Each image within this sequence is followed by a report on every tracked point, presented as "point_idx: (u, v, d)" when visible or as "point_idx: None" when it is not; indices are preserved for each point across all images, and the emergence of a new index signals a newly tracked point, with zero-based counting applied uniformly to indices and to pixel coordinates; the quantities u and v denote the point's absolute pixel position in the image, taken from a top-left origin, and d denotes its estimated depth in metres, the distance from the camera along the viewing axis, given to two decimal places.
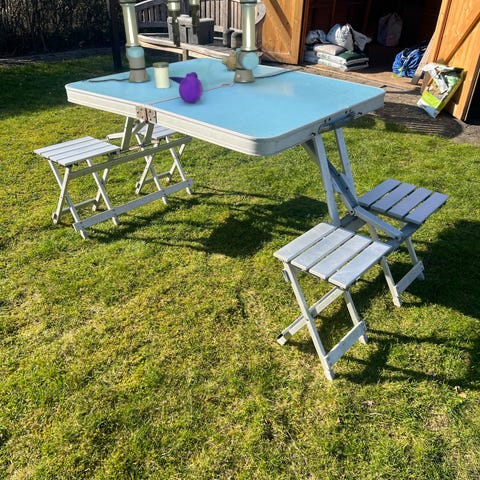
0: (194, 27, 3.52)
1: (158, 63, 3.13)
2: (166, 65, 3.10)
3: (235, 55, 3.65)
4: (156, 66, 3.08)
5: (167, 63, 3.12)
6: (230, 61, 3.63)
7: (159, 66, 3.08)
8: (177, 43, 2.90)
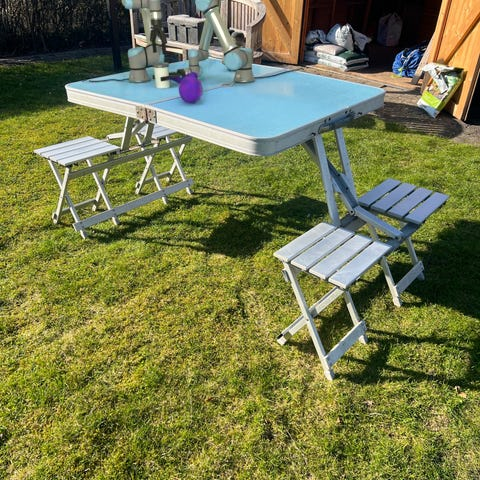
0: None
1: (158, 63, 3.13)
2: (166, 65, 3.10)
3: None
4: (156, 66, 3.08)
5: (167, 63, 3.12)
6: None
7: (159, 66, 3.08)
8: None
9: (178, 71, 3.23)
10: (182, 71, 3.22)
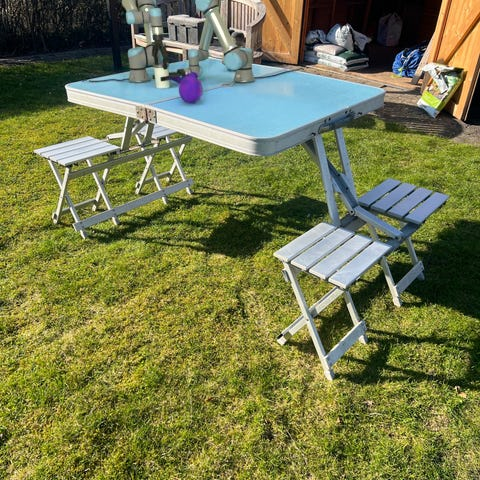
0: None
1: (158, 63, 3.13)
2: None
3: None
4: (156, 66, 3.08)
5: (167, 63, 3.12)
6: None
7: (159, 66, 3.08)
8: None
9: (178, 71, 3.23)
10: (182, 71, 3.22)
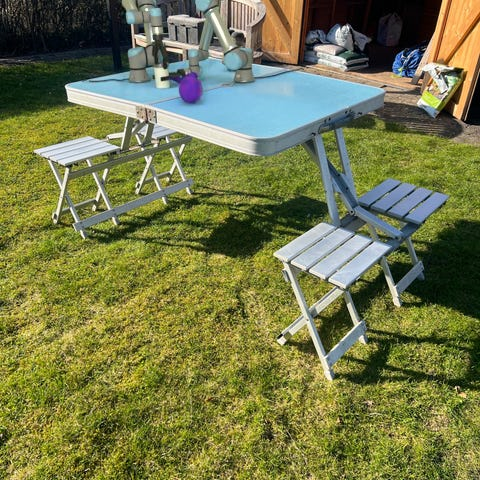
0: None
1: (160, 63, 3.10)
2: None
3: None
4: (168, 64, 3.13)
5: (157, 62, 3.15)
6: None
7: None
8: None
9: (178, 71, 3.23)
10: (182, 71, 3.22)
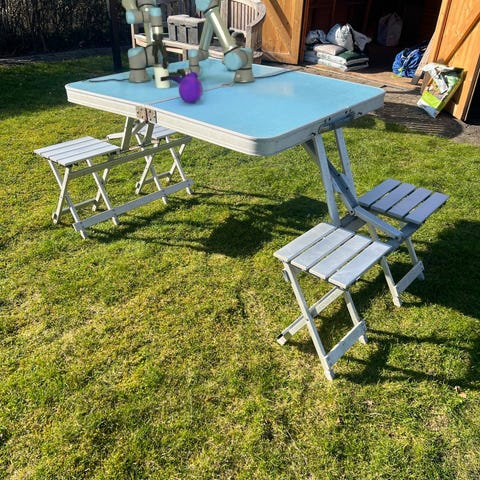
0: None
1: (162, 62, 3.13)
2: (153, 65, 3.10)
3: None
4: None
5: (157, 64, 3.08)
6: None
7: None
8: None
9: (178, 71, 3.23)
10: (182, 71, 3.22)
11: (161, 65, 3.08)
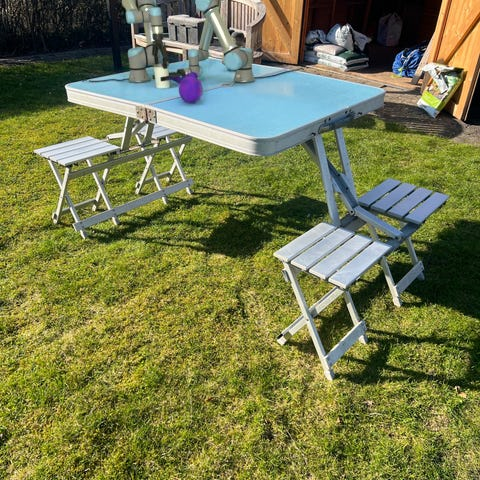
0: None
1: (158, 62, 3.12)
2: (167, 64, 3.11)
3: None
4: (158, 65, 3.08)
5: (167, 62, 3.13)
6: None
7: (161, 65, 3.08)
8: None
9: (178, 71, 3.23)
10: (182, 71, 3.22)
11: None
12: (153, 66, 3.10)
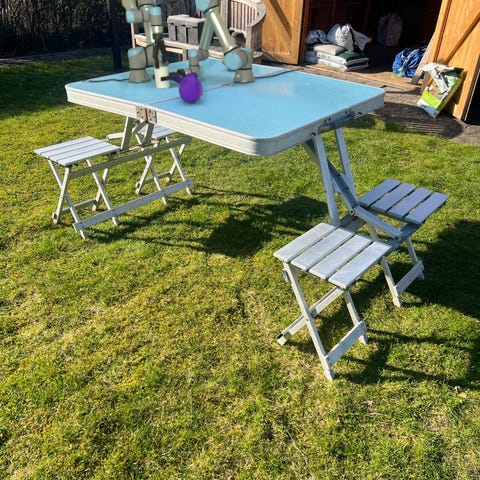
0: (163, 58, 3.15)
1: (161, 62, 3.10)
2: None
3: None
4: None
5: None
6: None
7: None
8: None
9: (178, 71, 3.23)
10: (182, 71, 3.22)
11: None
12: (167, 65, 3.11)
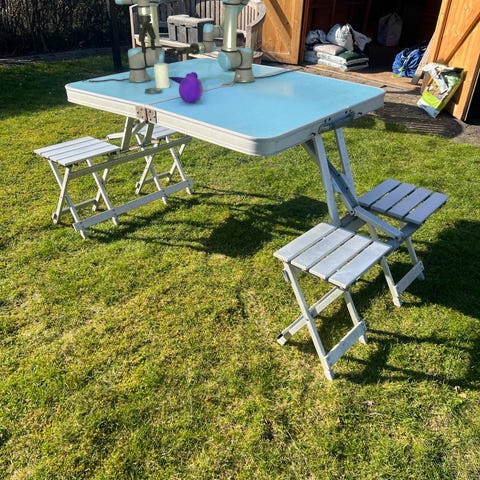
0: (152, 41, 2.95)
1: (154, 90, 3.03)
2: None
3: None
4: None
5: (148, 88, 3.07)
6: None
7: None
8: None
9: (191, 46, 3.22)
10: (196, 45, 3.21)
11: None
12: (160, 92, 3.03)
